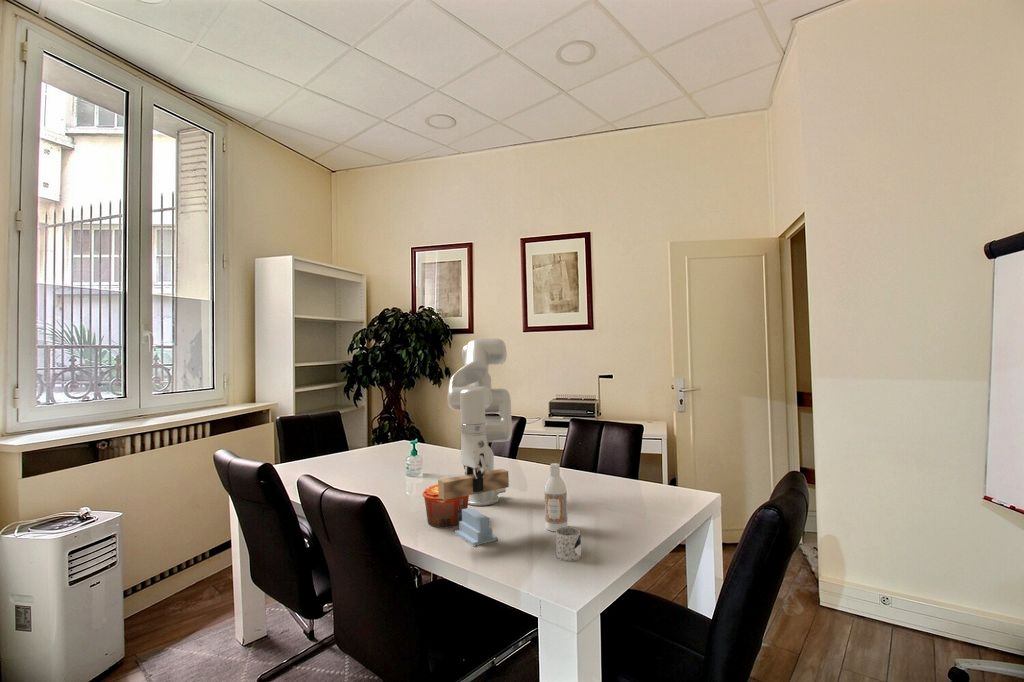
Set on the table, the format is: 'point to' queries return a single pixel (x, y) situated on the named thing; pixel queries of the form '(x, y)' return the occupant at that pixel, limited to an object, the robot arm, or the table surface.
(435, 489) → the food container
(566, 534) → the mug
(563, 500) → the bath foam
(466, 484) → the light brown wooden bar
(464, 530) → the light blue stepped block
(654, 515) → the table surface
